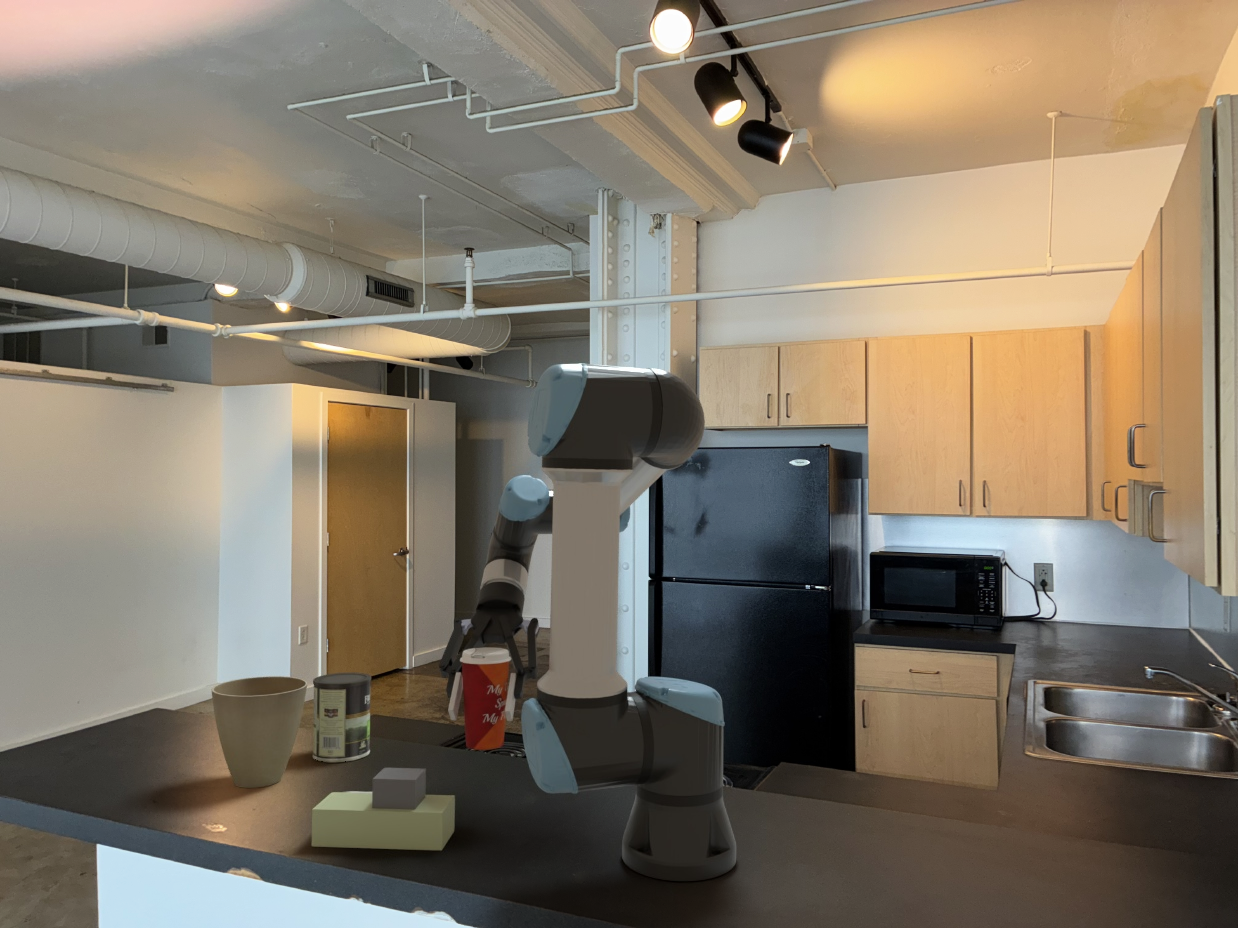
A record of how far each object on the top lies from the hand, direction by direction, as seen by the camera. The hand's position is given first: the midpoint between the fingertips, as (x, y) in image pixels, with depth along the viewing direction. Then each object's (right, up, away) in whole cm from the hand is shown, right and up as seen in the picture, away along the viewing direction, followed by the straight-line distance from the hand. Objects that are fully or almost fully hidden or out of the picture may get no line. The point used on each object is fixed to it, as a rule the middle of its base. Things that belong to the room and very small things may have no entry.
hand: (480, 715), depth 129 cm
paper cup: (0, -5, +3) cm, 6 cm away
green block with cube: (-13, -16, -1) cm, 20 cm away
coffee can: (-31, -17, +34) cm, 49 cm away
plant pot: (-40, -16, +18) cm, 47 cm away
